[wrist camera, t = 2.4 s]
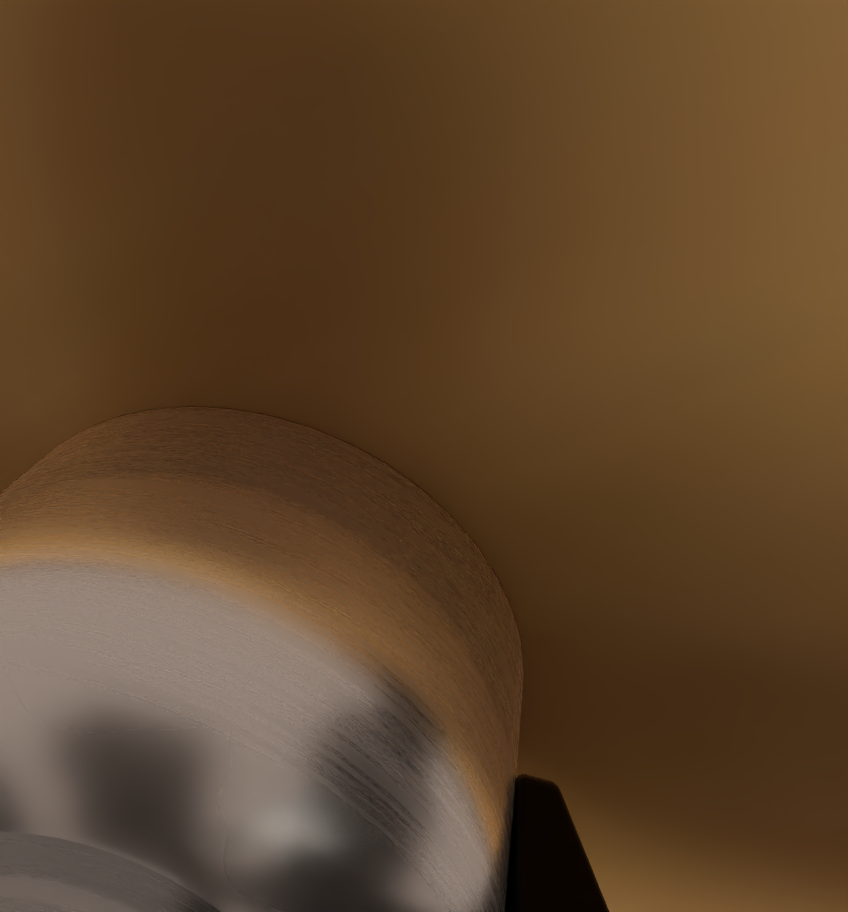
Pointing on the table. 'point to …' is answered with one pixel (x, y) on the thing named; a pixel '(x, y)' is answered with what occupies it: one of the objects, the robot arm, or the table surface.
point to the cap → (248, 679)
